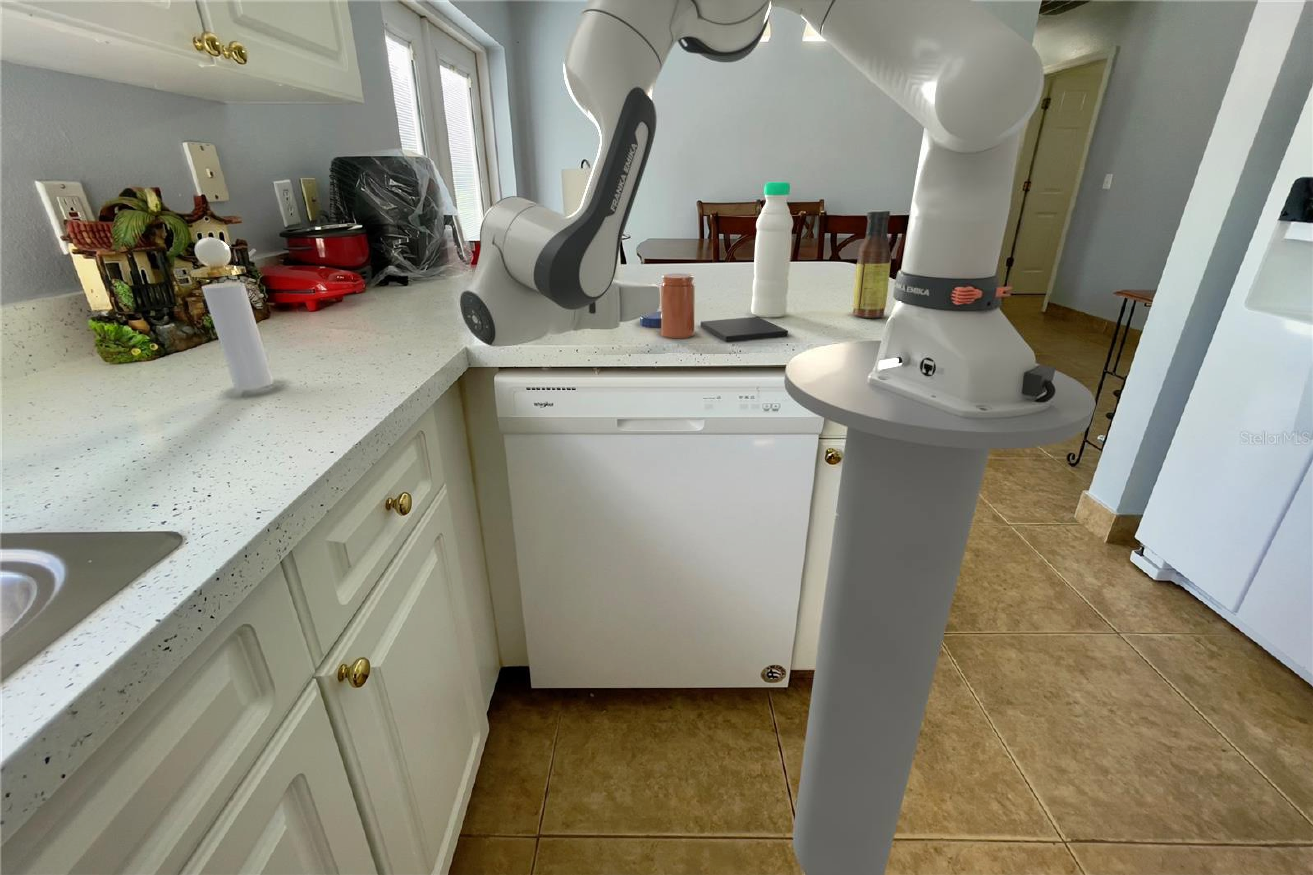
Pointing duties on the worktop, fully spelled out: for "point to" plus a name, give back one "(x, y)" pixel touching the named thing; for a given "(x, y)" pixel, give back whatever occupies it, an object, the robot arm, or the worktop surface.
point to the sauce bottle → (873, 268)
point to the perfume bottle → (232, 317)
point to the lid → (651, 320)
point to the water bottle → (772, 252)
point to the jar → (677, 305)
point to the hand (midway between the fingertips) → (631, 285)
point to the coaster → (743, 329)
